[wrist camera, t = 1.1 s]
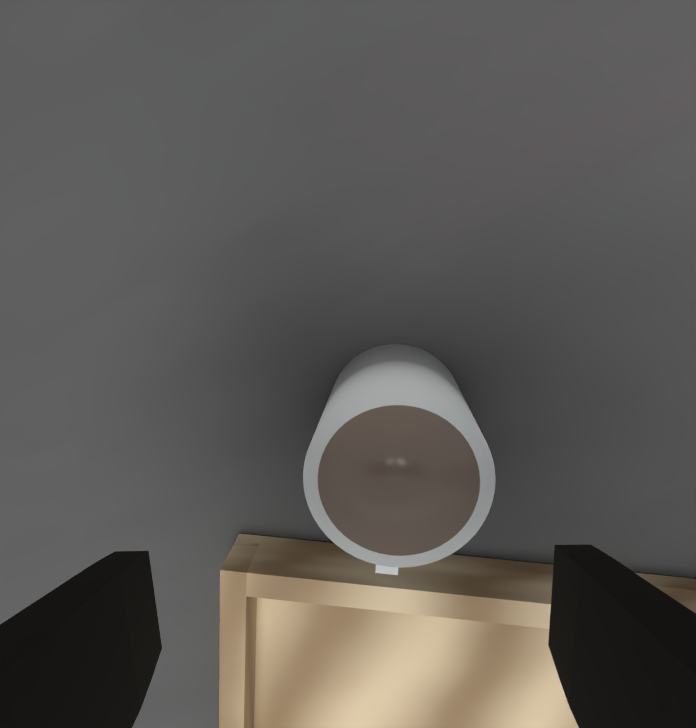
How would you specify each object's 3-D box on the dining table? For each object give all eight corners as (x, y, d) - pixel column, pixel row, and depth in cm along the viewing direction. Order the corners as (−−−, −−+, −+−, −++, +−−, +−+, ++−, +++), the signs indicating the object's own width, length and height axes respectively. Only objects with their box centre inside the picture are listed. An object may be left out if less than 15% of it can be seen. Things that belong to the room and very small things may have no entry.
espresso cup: (467, 348, 19) (508, 398, 13) (449, 506, 20) (477, 622, 14) (333, 339, 19) (306, 383, 13) (325, 494, 21) (296, 603, 14)
